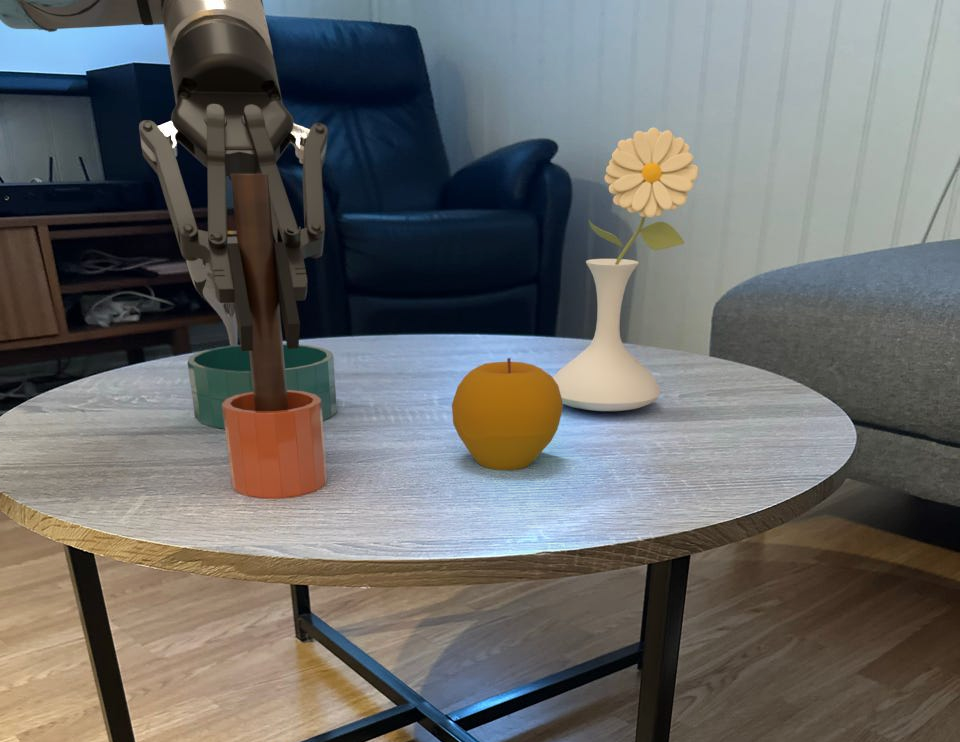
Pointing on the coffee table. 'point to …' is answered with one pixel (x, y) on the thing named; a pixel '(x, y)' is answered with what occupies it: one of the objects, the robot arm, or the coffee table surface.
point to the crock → (275, 446)
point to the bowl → (231, 375)
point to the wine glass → (206, 289)
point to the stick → (261, 288)
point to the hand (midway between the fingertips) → (270, 337)
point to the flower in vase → (628, 271)
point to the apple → (506, 413)
